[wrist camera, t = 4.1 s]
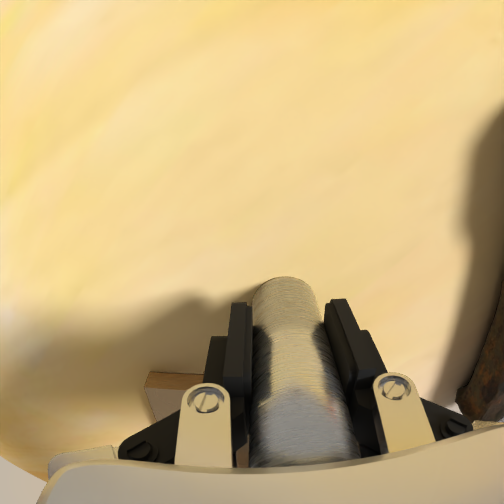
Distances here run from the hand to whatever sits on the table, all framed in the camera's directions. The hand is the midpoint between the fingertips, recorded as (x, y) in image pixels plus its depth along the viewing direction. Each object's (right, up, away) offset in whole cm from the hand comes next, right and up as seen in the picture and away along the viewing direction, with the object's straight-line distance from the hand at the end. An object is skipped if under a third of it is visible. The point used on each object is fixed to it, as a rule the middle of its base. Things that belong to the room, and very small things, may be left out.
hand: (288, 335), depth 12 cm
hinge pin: (0, +1, +2) cm, 2 cm away
